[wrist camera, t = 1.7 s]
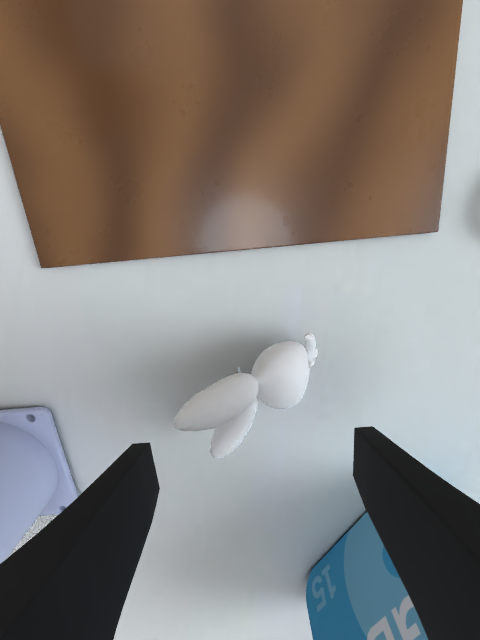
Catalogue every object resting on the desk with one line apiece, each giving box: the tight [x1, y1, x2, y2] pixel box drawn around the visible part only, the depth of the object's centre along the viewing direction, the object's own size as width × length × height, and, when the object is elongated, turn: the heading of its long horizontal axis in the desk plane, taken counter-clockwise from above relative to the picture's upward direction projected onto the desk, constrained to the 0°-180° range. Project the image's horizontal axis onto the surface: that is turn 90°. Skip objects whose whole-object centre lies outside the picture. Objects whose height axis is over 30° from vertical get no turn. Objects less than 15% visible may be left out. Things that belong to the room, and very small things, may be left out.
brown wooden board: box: [0, 0, 463, 268], centre depth 12 cm, size 20×12×1 cm, turn 95°
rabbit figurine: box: [174, 333, 318, 458], centre depth 14 cm, size 6×4×8 cm
